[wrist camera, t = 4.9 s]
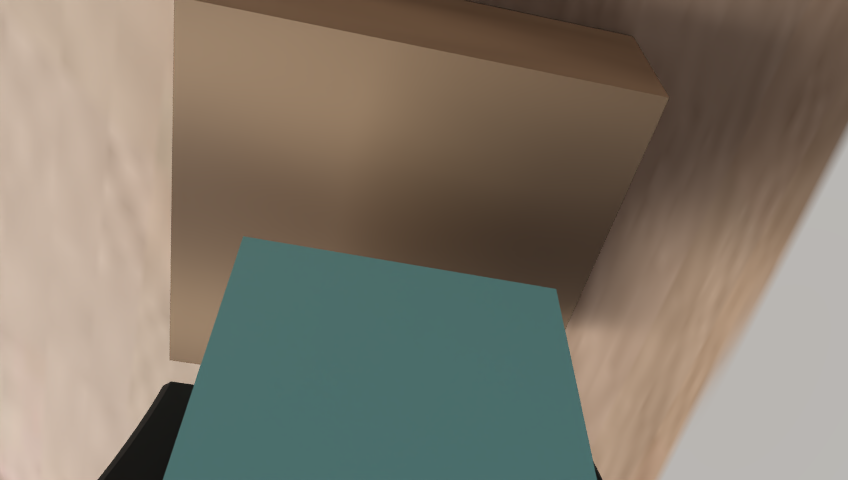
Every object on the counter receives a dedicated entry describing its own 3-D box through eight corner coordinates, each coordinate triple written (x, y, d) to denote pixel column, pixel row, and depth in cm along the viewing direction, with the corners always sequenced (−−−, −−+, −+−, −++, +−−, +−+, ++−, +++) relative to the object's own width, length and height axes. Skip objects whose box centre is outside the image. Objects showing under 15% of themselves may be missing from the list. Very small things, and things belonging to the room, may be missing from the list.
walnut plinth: (516, 330, 21) (527, 412, 19) (199, 280, 20) (169, 359, 18) (632, 36, 16) (669, 97, 14) (214, -54, 15) (174, -4, 13)
